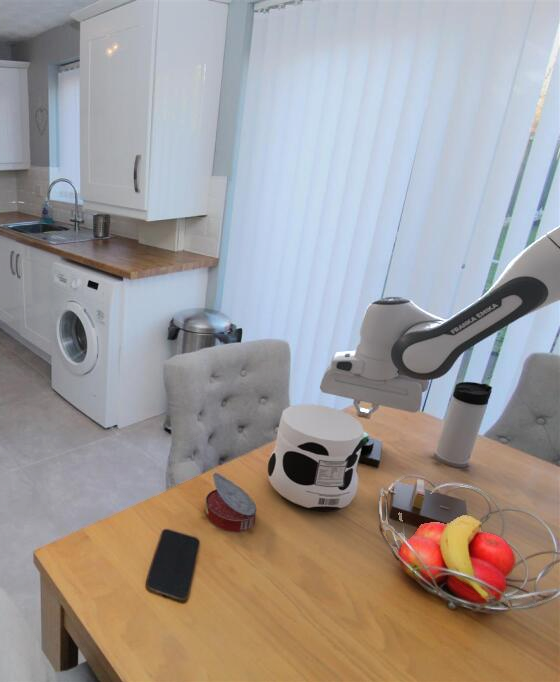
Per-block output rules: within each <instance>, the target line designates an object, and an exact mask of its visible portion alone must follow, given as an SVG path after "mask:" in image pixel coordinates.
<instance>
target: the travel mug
mask: <svg viewBox="0 0 560 682" xmlns="http://www.w3.org/2000/svg"><path fill="white" fill-rule="evenodd" d="M492 389H493V387H492V386H491V385H489V384H487V383H480V382H475V381H474V382H473V381H461V382H458V383H456V384H455V386H454V390H453V393H452V395H451V398H450V402H449V405H448V408H447V411H446V415H445V418H444V422H443V425H442V428H441V432H440V435H439V438H438V441H437V445H436V448H435V451H434V455H433V456H434V458H435V459H436V461H438V462H440V464H443V465H445V466H449V467H452V468H457V469H459V468H465V467H467V466H468V465H469V462H470V459H471V455H472V453H473V450H474V447H475V444H476V441H477V438H478V435H479V432H480V429H481V426H482V423H483V420H484V417H485V414H486V410H487V408H488V405H489V400H490V398H491V394H492V391H493V390H492Z"/></svg>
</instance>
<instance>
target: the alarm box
mask: <svg viewBox="0 0 560 682" xmlns="http://www.w3.org/2000/svg"><path fill="white" fill-rule="evenodd" d="M382 448H383V440H381V439H376V438H373V437H372V436H371V435H369V434H368V439H367V442H366V443H363V444H362V447H361V453H360V456H359V460H358V464H360V465H365V466H369V467H371V468H376V469H379V466H380V462H381V457H382V455H381V454H382Z"/></svg>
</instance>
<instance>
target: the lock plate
mask: <svg viewBox="0 0 560 682" xmlns="http://www.w3.org/2000/svg"><path fill="white" fill-rule="evenodd" d="M396 481H397V480H393V484H394V483H395V482H396ZM414 486H415V485H412V484H409V483H405V482H403V481H402V482H401V481H398V483H397V484H396V485H395V486H394V487H393V486H392V488H393V489H391V490H390V492H389V493H390V505H389V514H388V515H389V516H388V518H389V519H391V520H394V521H397V522H400V520H399V515H398V513H399V512H400V513H402V520H403V522H402V523H403V524H406V525H408V526H409V525H410V526H412V527H416V528H419V526H420V525H421V524H424V523H430V522H440V523H444V524H447V523H450V522H451V521H453V520H454V519H456V518H457V517H460V516H462V515H467V516H468V509H467V501H466V499H465V500H464V499H461V498H458V497H454V496H452V495H447V494H445V493H440V492H437V491H433V490H430V489H426V488H425V498H424V501H423V504H422V508H421V509H419V508H416V507H413V490H414ZM432 491H433V492H434V493H432V494H430V493H431V492H432ZM391 495H392V497H391Z"/></svg>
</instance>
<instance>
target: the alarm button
mask: <svg viewBox="0 0 560 682" xmlns="http://www.w3.org/2000/svg"><path fill="white" fill-rule="evenodd" d="M368 435H369V433H368V432H366V430H365V431H364V430H363V443H366V442H367V439H368Z"/></svg>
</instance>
